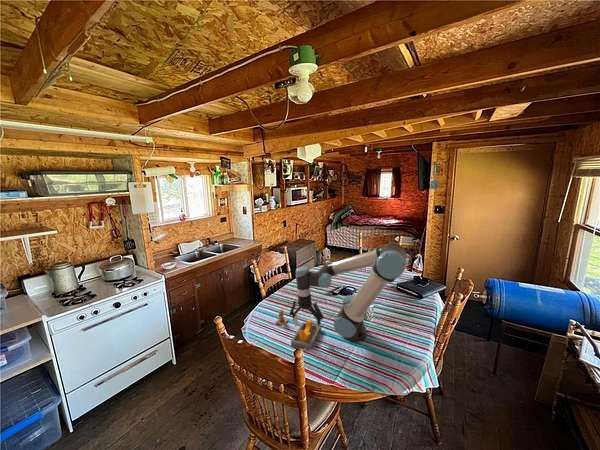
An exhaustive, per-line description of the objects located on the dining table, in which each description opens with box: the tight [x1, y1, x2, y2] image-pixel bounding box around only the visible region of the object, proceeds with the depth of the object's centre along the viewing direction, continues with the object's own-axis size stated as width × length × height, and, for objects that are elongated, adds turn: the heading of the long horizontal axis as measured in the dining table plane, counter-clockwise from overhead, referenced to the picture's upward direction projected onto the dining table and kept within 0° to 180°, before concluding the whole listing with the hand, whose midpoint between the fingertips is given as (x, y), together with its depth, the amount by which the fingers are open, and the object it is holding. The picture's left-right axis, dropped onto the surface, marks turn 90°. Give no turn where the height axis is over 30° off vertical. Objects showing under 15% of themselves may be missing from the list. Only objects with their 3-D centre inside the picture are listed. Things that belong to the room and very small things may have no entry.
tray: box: [290, 321, 322, 351], centre depth 144 cm, size 12×18×3 cm, turn 157°
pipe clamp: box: [299, 319, 313, 343], centre depth 144 cm, size 12×4×6 cm, turn 152°
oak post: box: [275, 309, 289, 327], centre depth 159 cm, size 6×6×8 cm
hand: (307, 327), depth 142 cm, fingers open, 13 cm apart
